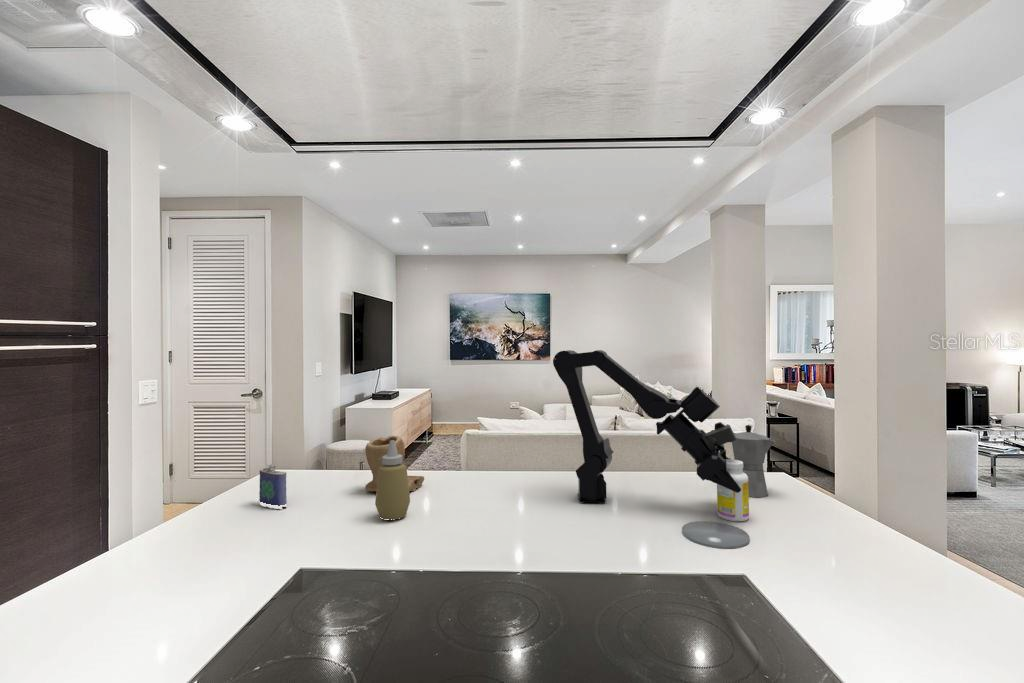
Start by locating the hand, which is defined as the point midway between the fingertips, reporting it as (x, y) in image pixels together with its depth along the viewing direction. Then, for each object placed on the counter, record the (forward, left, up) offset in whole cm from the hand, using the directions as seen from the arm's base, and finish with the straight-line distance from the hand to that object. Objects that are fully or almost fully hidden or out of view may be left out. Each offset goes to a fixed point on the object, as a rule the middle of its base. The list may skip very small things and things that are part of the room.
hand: (739, 487), depth 110 cm
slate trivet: (-9, -10, -7) cm, 15 cm away
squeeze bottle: (-80, 0, -7) cm, 81 cm away
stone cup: (-86, +20, -7) cm, 89 cm away
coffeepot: (+10, +20, -7) cm, 23 cm away
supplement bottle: (-1, +1, -7) cm, 7 cm away
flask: (-113, +7, -7) cm, 114 cm away
